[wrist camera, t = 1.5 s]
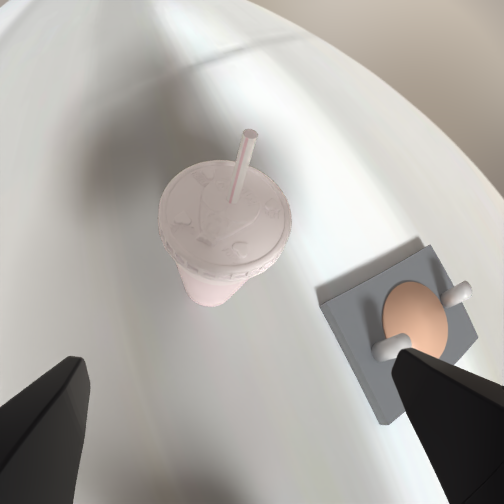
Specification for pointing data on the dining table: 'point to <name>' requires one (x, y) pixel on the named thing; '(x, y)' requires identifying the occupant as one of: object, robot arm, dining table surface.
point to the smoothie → (223, 224)
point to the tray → (400, 324)
